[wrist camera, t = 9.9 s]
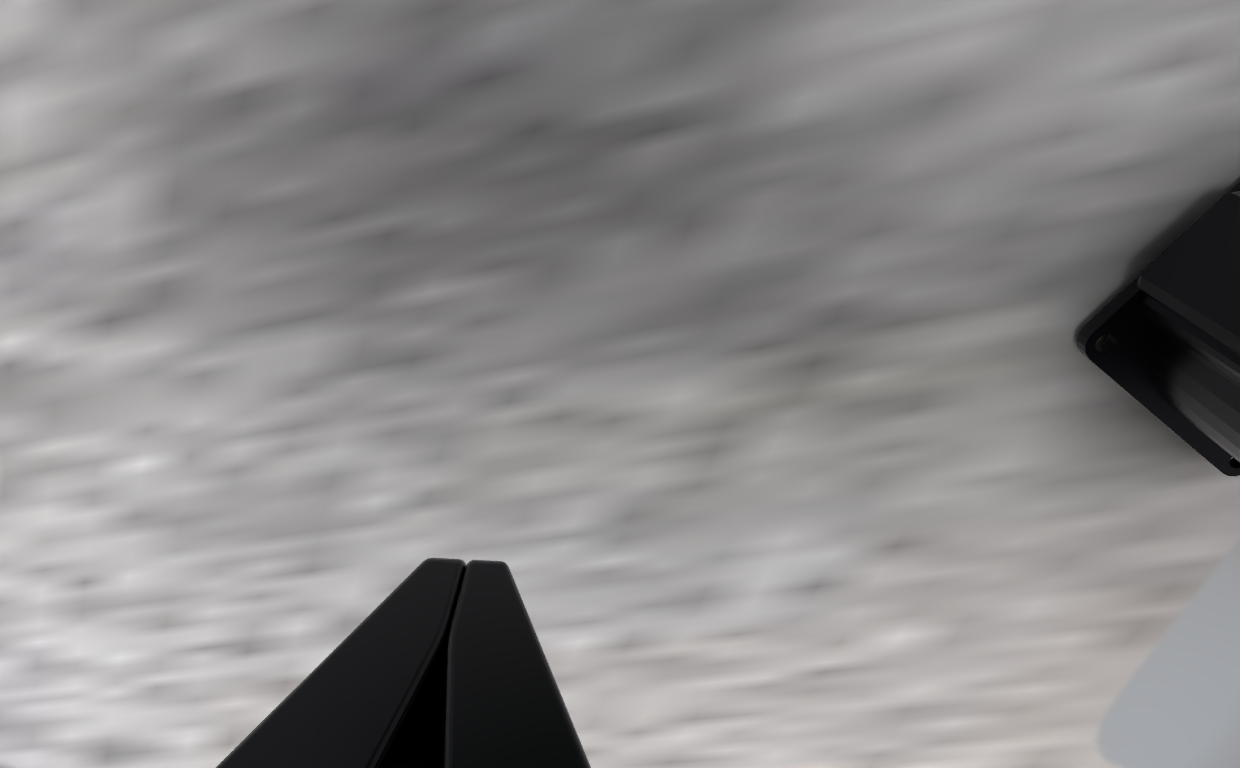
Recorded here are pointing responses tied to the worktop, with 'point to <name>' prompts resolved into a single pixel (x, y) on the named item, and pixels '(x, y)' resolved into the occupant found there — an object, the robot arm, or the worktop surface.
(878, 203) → the worktop surface
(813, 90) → the worktop surface
